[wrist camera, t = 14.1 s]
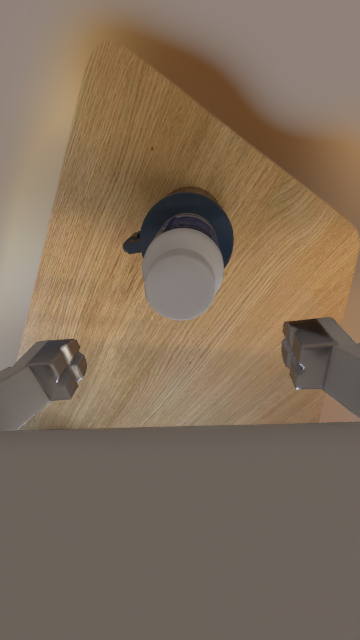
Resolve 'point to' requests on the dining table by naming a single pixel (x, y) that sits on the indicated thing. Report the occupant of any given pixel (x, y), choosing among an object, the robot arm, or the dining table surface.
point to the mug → (183, 203)
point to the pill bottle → (183, 267)
